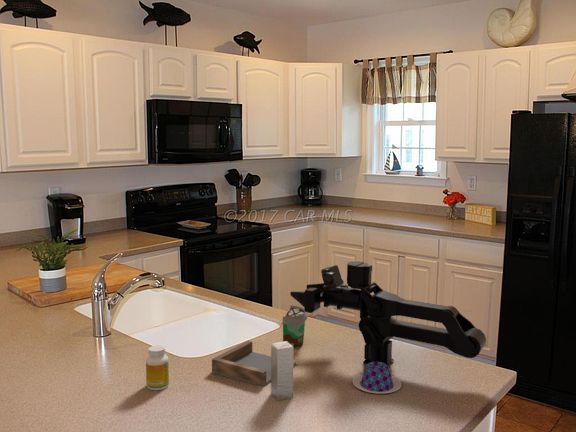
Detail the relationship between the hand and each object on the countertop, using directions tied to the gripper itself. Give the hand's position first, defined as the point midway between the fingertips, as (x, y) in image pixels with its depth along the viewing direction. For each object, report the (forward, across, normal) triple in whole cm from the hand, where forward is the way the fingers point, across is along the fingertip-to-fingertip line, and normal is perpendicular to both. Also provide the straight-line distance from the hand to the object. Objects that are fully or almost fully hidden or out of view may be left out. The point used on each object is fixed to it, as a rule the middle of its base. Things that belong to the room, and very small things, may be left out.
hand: (298, 289), depth 166 cm
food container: (+1, 0, +17) cm, 17 cm away
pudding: (-30, +13, +17) cm, 37 cm away
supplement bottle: (+15, +43, +17) cm, 48 cm away
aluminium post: (-14, +31, +17) cm, 38 cm away
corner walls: (+1, +22, +17) cm, 27 cm away
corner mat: (+1, +22, +17) cm, 27 cm away
